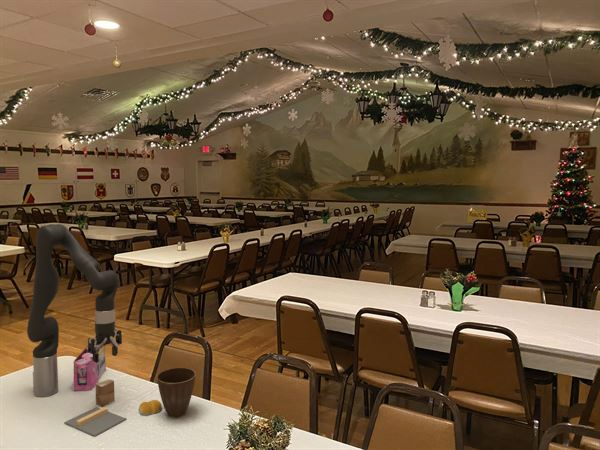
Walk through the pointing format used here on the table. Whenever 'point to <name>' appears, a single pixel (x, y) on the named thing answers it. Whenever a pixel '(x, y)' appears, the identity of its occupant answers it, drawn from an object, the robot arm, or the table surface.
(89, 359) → the gum box
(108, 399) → the brown wooden block
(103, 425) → the mat
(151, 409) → the bread roll
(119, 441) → the table surface
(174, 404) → the plant pot
